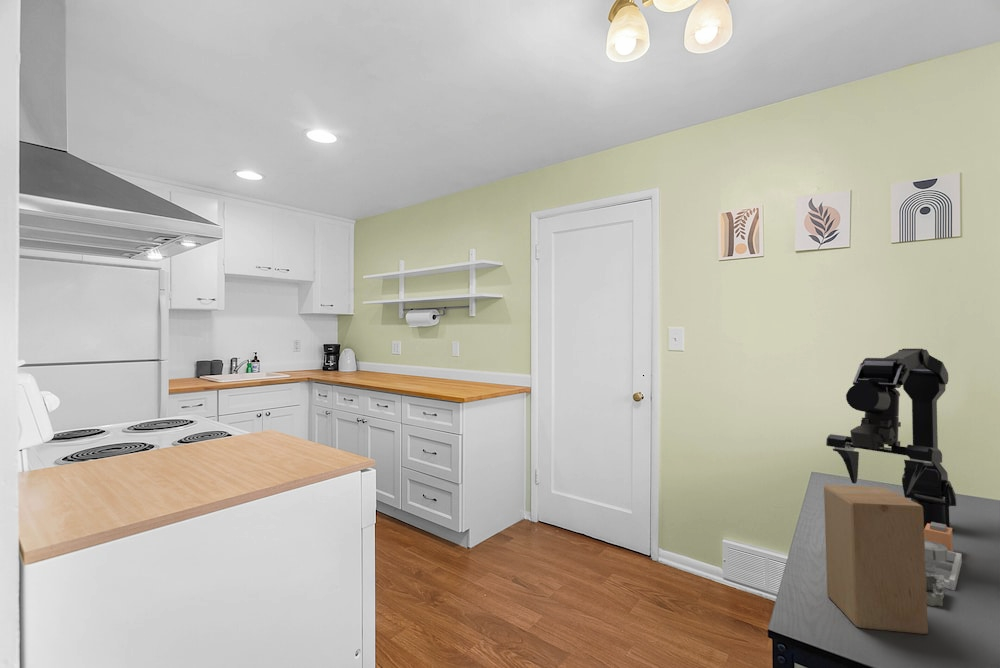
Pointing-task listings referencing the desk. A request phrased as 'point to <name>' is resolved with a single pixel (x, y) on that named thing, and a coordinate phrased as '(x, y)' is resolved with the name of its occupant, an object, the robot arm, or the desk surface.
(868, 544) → the wooden block
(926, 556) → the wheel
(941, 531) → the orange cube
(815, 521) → the desk surface
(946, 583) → the chassis
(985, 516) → the desk surface
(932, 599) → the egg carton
